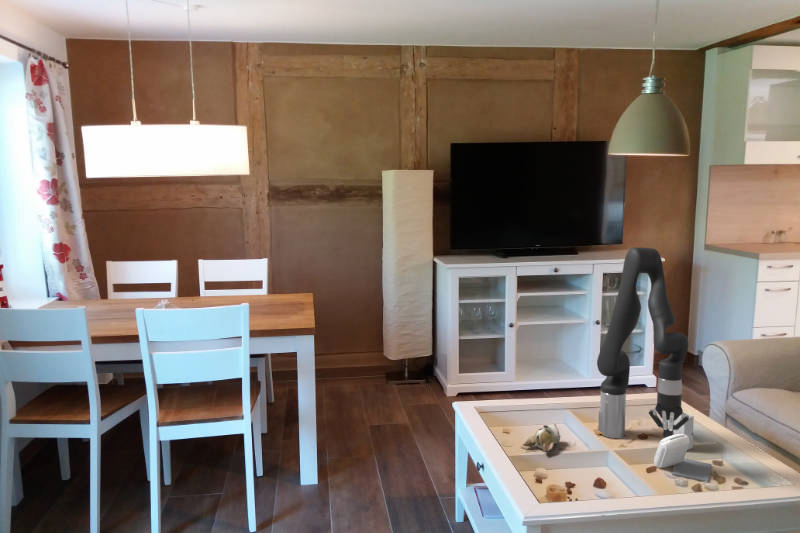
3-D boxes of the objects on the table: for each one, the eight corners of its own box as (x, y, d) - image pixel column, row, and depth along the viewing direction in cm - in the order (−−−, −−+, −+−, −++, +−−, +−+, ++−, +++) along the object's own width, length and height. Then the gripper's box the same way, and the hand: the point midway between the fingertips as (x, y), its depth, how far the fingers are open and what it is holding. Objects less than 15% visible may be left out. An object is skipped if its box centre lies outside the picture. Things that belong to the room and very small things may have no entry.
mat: (672, 475, 192) (672, 473, 192) (677, 458, 204) (677, 457, 204) (708, 482, 187) (708, 480, 187) (711, 465, 199) (711, 463, 199)
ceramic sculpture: (567, 422, 216) (546, 437, 206) (568, 444, 217) (547, 460, 207) (542, 415, 224) (520, 429, 213) (543, 437, 225) (521, 451, 214)
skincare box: (684, 452, 210) (685, 419, 208) (672, 447, 213) (673, 416, 212) (693, 447, 213) (694, 416, 212) (681, 443, 217) (683, 412, 215)
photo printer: (659, 470, 196) (667, 446, 190) (650, 460, 200) (659, 436, 193) (684, 462, 199) (694, 438, 192) (676, 453, 202) (685, 428, 196)
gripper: (646, 390, 197) (645, 439, 199) (689, 397, 190) (688, 447, 192) (650, 384, 203) (649, 432, 205) (692, 390, 196) (690, 439, 198)
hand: (667, 439), depth 199 cm, fingers closed
